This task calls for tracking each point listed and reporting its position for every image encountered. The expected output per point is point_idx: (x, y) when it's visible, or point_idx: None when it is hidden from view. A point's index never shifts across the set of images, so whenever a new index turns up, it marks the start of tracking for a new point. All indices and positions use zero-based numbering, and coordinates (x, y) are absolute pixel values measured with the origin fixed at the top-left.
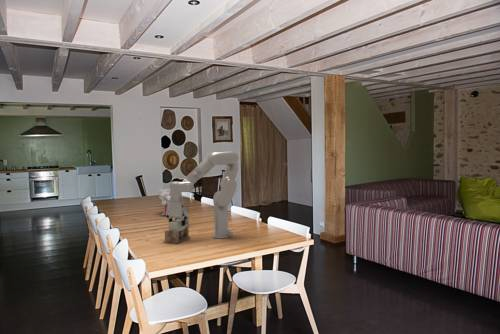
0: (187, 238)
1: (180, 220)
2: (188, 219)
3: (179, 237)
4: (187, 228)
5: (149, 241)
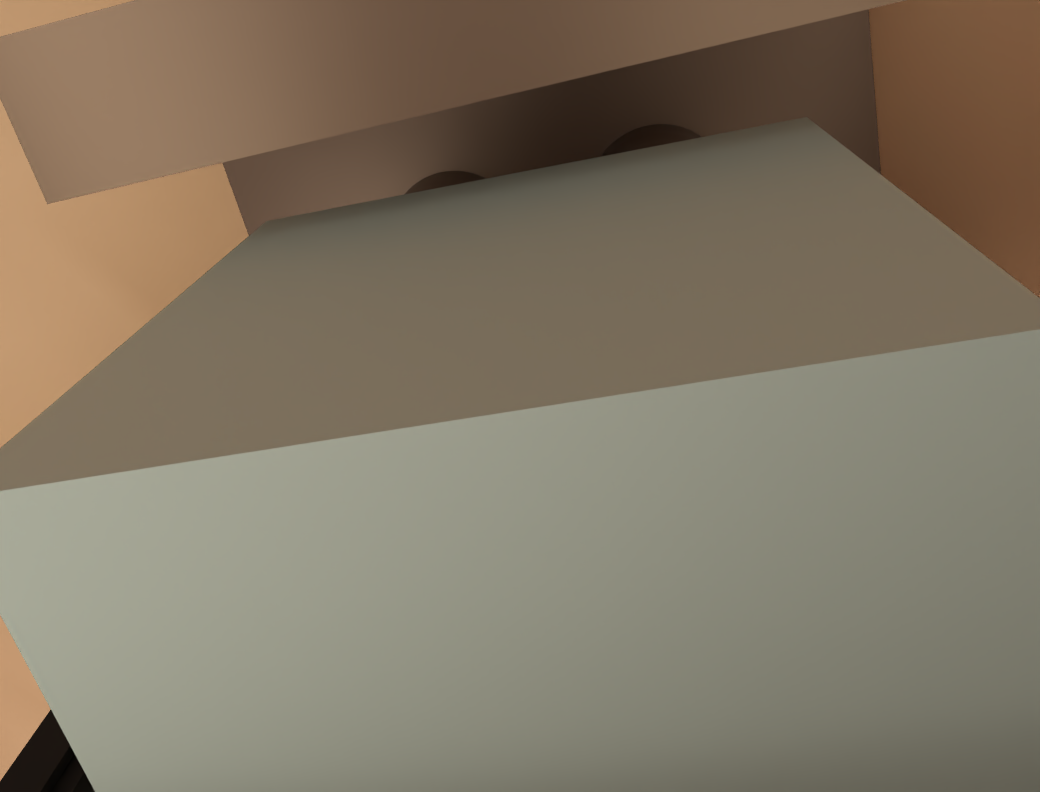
0: (868, 68)
1: (667, 682)
2: None
3: (512, 167)
4: None
5: (19, 736)
